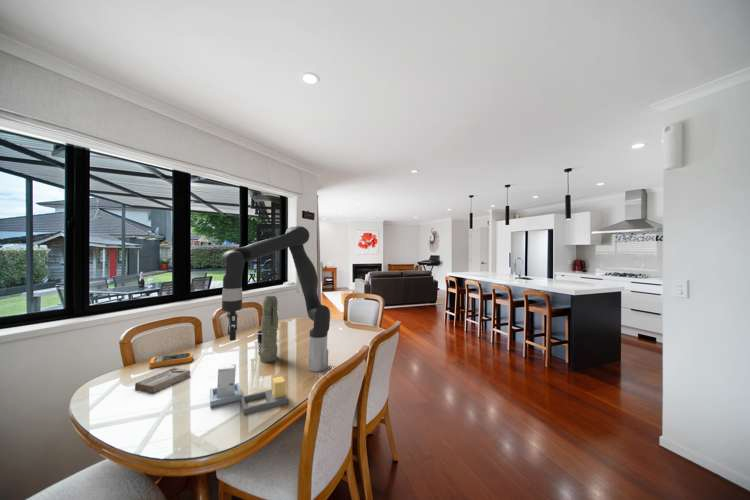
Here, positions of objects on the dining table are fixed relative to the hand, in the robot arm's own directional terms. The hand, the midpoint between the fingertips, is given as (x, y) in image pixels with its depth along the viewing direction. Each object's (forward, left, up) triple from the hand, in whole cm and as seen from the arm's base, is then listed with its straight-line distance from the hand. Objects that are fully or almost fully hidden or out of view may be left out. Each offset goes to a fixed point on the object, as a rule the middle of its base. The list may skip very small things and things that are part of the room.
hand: (231, 337), depth 116 cm
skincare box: (+2, +1, -24) cm, 24 cm away
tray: (+2, +1, -24) cm, 25 cm away
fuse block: (-10, +12, -24) cm, 29 cm away
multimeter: (+24, -50, -25) cm, 61 cm away
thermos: (-21, -32, -25) cm, 46 cm away
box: (+25, -26, -25) cm, 44 cm away
